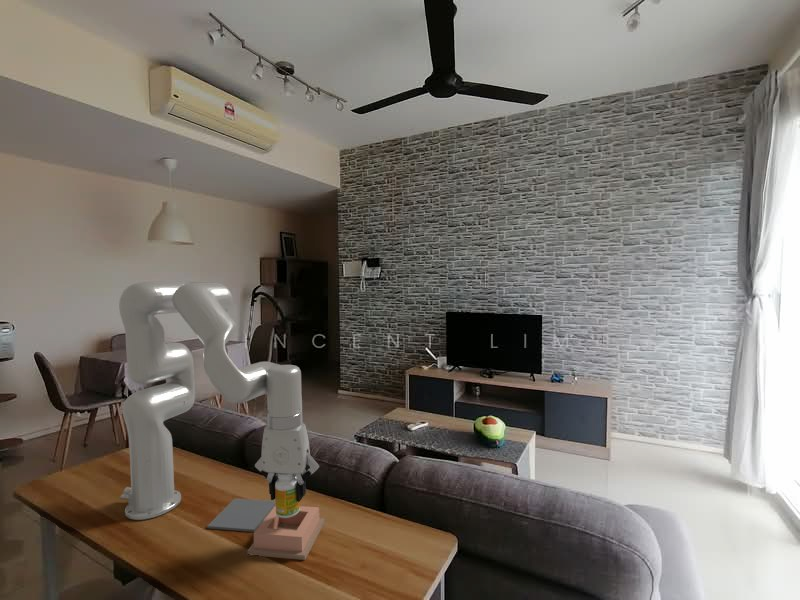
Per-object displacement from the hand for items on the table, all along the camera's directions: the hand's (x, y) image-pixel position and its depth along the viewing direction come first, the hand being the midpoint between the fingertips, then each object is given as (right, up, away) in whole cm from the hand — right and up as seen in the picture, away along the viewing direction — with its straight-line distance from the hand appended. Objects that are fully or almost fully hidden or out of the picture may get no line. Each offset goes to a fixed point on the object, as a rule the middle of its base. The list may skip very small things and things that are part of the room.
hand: (287, 496), depth 90 cm
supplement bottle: (0, -4, 0) cm, 4 cm away
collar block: (0, -10, 0) cm, 10 cm away
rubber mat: (-14, -9, +9) cm, 19 cm away
